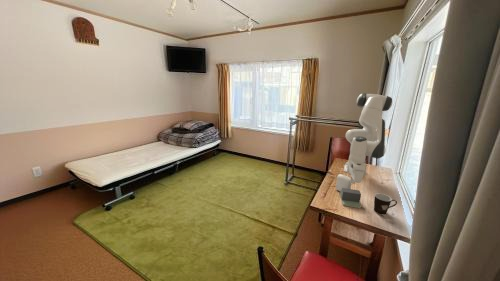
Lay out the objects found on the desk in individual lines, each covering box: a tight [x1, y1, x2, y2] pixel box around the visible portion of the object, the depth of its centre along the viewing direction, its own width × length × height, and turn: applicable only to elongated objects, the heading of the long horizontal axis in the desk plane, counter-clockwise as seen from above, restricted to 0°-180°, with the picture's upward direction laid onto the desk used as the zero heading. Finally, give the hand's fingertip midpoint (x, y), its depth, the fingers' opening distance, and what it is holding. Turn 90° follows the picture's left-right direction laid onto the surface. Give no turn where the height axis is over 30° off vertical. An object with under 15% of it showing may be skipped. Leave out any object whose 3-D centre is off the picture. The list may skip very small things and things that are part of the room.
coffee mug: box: [373, 192, 398, 216], centre depth 117 cm, size 12×9×10 cm
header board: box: [339, 192, 362, 209], centre depth 130 cm, size 14×10×5 cm
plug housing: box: [340, 188, 362, 204], centre depth 129 cm, size 5×11×6 cm, turn 74°
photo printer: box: [335, 174, 352, 193], centre depth 140 cm, size 10×4×12 cm, turn 29°
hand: (352, 182), depth 127 cm, fingers closed
